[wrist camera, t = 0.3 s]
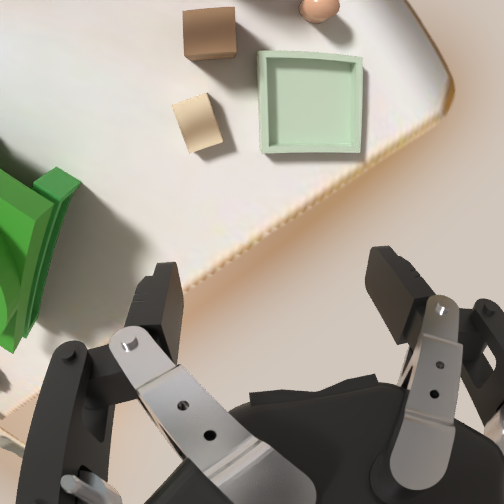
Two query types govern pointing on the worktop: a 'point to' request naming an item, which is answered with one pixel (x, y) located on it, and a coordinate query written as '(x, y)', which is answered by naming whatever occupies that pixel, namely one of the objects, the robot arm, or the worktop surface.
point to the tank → (28, 247)
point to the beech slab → (197, 123)
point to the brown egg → (318, 10)
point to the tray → (309, 102)
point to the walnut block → (209, 33)
